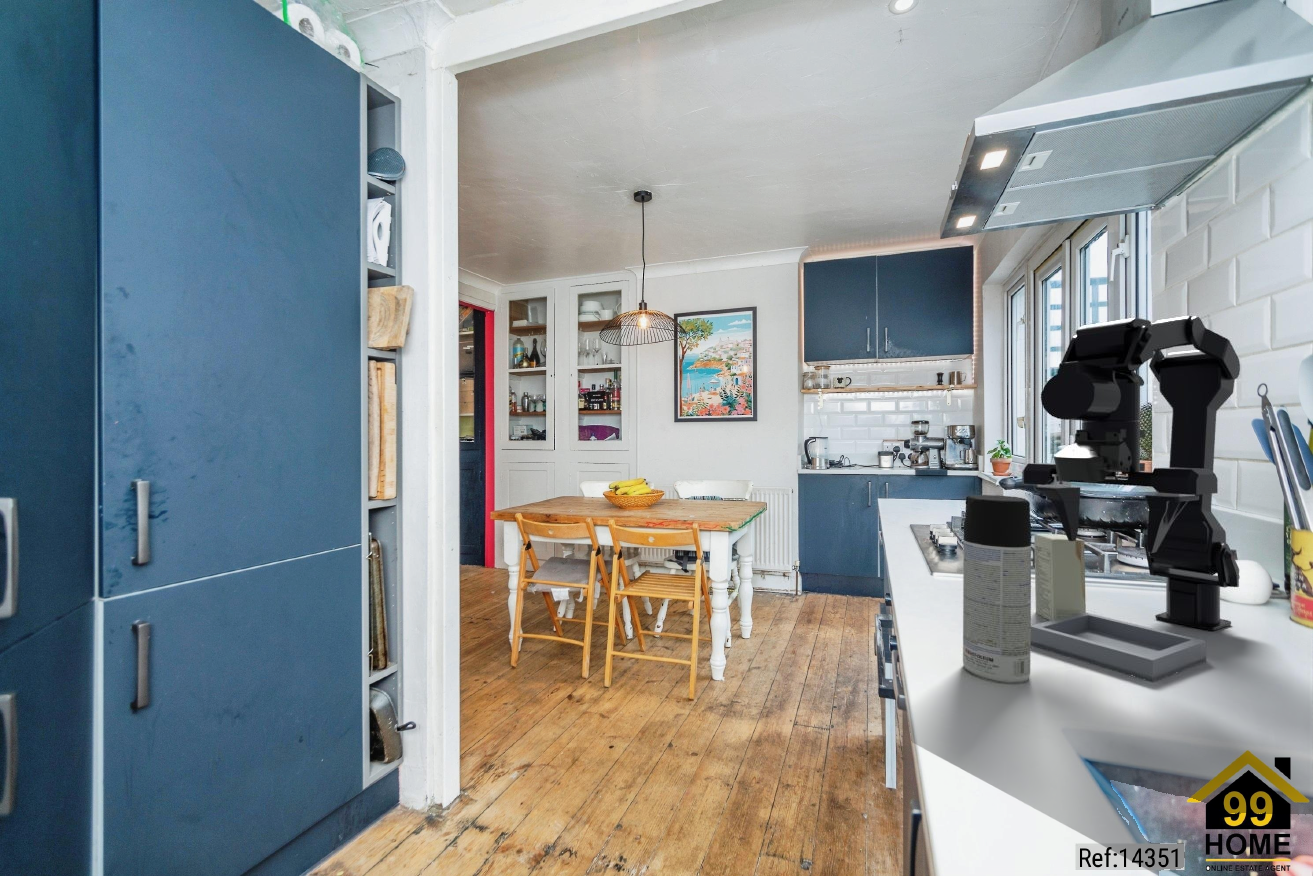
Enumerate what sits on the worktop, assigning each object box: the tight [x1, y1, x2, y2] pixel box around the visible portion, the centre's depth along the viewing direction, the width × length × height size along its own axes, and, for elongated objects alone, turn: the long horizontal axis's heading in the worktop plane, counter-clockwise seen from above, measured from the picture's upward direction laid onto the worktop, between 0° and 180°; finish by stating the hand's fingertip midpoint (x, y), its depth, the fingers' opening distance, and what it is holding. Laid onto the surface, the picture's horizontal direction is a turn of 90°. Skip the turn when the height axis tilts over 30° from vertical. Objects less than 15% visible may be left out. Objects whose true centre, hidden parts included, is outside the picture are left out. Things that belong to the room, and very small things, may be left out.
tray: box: [1031, 611, 1207, 683], centre depth 71 cm, size 13×13×2 cm
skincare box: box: [1033, 533, 1087, 621], centre depth 85 cm, size 6×4×12 cm
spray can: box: [962, 494, 1032, 685], centre depth 65 cm, size 7×7×20 cm
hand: (1109, 546), depth 72 cm, fingers open, 8 cm apart
